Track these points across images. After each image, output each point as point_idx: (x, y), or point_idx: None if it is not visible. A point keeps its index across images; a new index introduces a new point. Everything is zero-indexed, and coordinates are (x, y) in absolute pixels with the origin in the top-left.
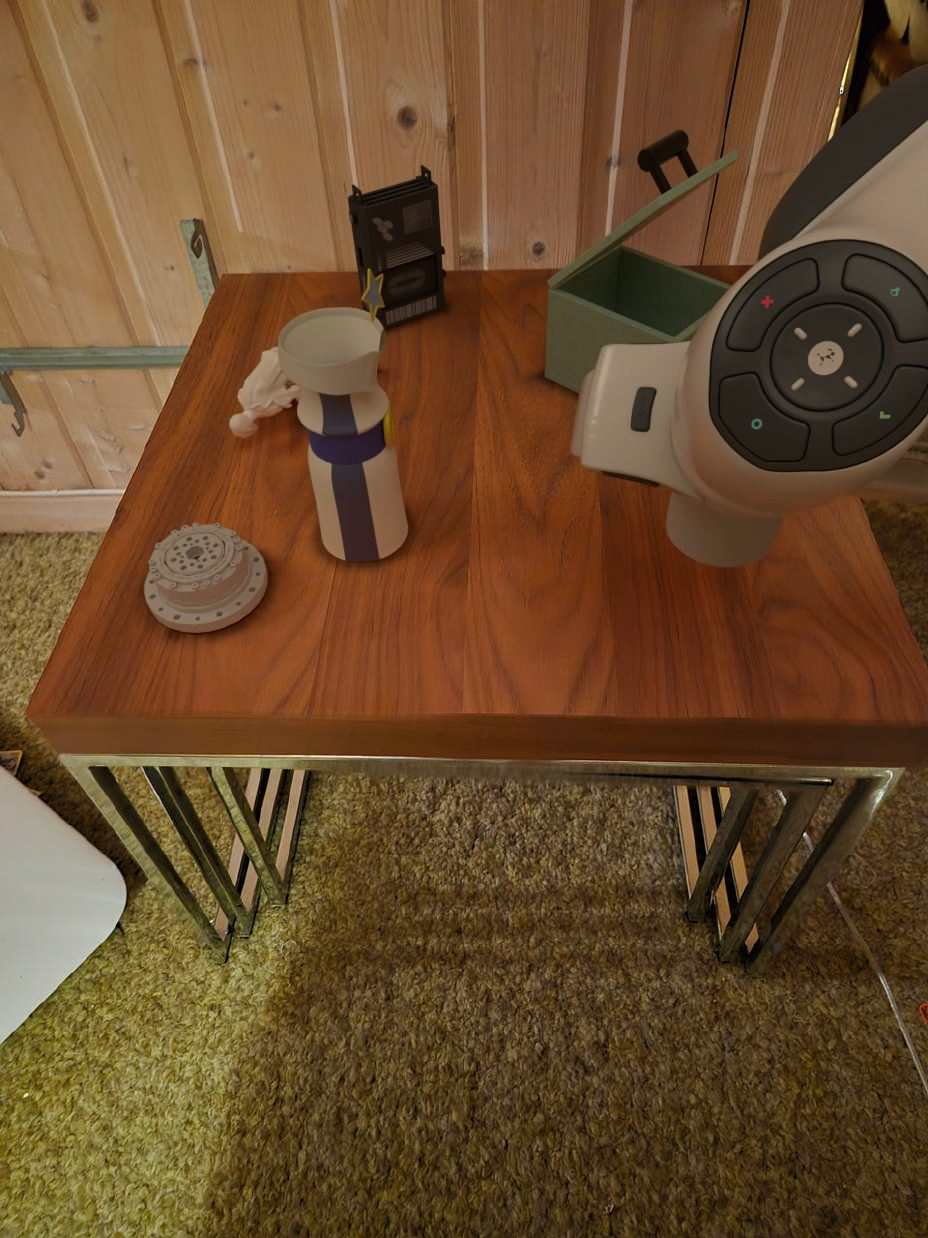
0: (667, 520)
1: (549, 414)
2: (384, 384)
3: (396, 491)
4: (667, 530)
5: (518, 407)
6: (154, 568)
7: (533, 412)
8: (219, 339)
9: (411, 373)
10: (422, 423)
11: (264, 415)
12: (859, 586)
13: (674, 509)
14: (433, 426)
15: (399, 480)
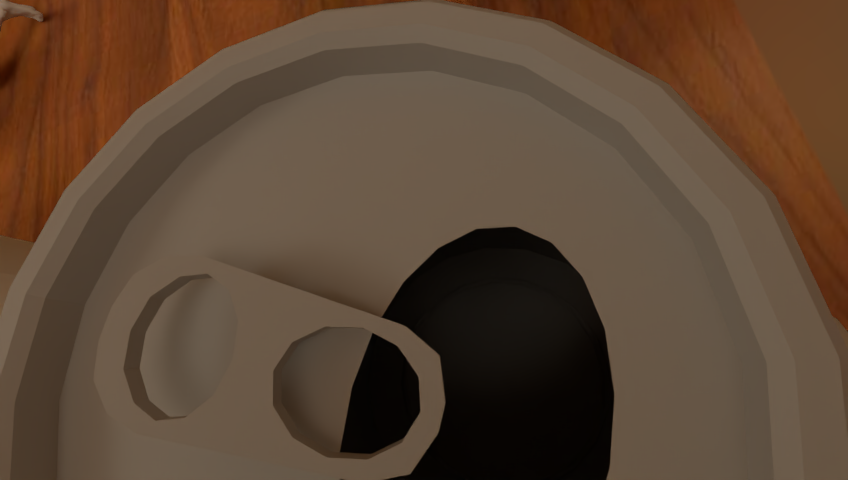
0: (364, 402)
1: (263, 13)
2: (60, 35)
3: (3, 298)
4: (373, 421)
5: (222, 15)
6: None
7: (242, 17)
8: None
9: (89, 4)
10: (107, 88)
11: None
12: (802, 226)
13: (343, 448)
14: (121, 89)
15: (3, 274)
